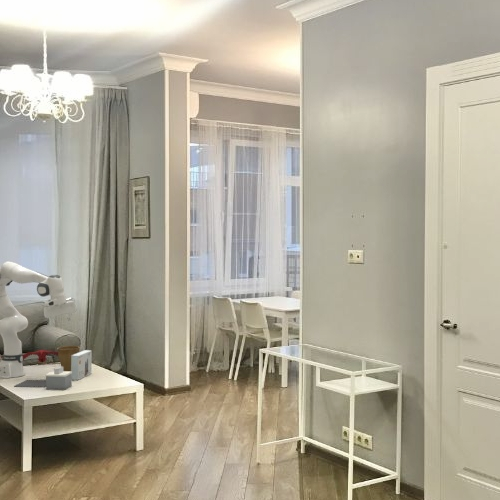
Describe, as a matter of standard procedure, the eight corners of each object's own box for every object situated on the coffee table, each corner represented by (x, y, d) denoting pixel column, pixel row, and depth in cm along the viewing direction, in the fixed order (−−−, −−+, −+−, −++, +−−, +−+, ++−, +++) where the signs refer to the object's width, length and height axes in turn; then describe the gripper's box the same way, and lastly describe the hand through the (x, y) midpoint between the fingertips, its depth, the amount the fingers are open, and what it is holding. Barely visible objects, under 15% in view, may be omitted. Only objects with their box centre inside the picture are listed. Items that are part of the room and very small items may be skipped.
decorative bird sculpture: (21, 370, 504) (20, 357, 494) (22, 360, 510) (20, 347, 500) (62, 368, 511) (62, 355, 500) (62, 358, 517) (62, 345, 507)
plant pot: (82, 371, 477) (82, 348, 476) (60, 373, 470) (59, 349, 470) (77, 367, 490) (77, 344, 490) (55, 369, 483) (55, 346, 483)
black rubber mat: (13, 386, 433) (13, 385, 433) (27, 380, 450) (27, 379, 450) (45, 387, 430) (44, 386, 430) (56, 381, 448) (56, 380, 448)
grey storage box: (46, 389, 425) (46, 376, 424) (53, 385, 434) (52, 372, 434) (65, 389, 423) (65, 376, 423) (71, 386, 433) (71, 373, 433)
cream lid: (45, 378, 424) (45, 369, 424) (52, 374, 435) (52, 365, 434) (65, 378, 422) (65, 369, 422) (72, 375, 433) (72, 366, 433)
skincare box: (78, 380, 449) (78, 355, 449) (70, 380, 450) (70, 355, 450) (92, 373, 470) (92, 349, 469) (84, 373, 471) (84, 349, 471)
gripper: (72, 296, 454) (76, 318, 455) (41, 303, 443) (44, 324, 444) (76, 297, 449) (79, 318, 450) (44, 304, 438) (47, 325, 439)
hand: (62, 321), depth 447 cm, fingers open, 8 cm apart
